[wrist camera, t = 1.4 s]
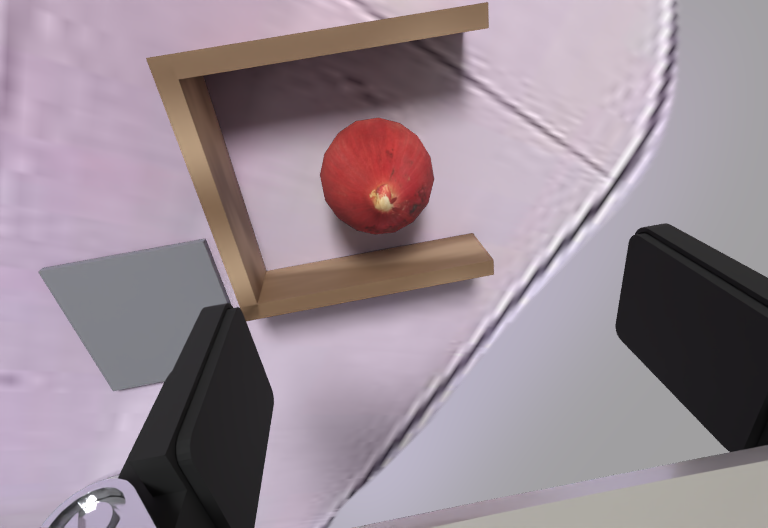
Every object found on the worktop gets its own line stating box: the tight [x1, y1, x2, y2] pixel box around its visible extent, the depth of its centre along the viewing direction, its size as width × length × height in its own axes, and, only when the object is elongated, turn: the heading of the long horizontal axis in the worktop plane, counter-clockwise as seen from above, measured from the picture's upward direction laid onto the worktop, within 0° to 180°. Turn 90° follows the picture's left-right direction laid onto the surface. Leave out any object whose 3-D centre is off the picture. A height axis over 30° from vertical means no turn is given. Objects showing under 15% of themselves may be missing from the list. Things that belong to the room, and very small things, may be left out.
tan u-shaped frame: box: [146, 2, 494, 321], centre depth 23 cm, size 14×15×4 cm
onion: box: [320, 118, 434, 234], centre depth 21 cm, size 6×6×8 cm
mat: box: [39, 239, 230, 391], centre depth 28 cm, size 10×10×1 cm
